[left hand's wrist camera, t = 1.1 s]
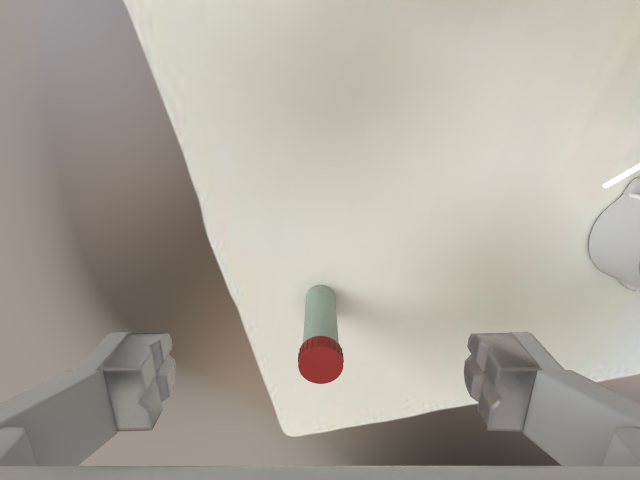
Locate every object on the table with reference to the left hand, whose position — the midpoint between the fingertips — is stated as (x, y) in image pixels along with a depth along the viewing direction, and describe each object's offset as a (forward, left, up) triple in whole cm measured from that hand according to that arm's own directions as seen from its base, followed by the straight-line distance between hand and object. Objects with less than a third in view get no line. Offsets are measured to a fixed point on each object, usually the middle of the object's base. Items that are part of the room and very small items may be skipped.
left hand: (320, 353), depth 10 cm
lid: (+24, 0, -31) cm, 40 cm away
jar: (+24, 0, -48) cm, 54 cm away
